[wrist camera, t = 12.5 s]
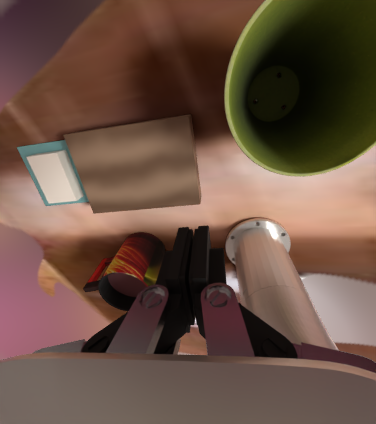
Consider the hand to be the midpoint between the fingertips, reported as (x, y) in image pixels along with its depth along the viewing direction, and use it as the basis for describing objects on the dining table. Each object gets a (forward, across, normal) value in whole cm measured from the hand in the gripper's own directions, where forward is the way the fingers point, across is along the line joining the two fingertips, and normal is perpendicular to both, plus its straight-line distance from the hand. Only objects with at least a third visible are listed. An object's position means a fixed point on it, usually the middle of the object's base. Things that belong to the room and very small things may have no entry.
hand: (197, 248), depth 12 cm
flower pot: (+27, -10, -7) cm, 30 cm away
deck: (+27, +12, +1) cm, 30 cm away
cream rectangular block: (+24, +28, +1) cm, 37 cm away
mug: (+27, +18, +21) cm, 39 cm away
